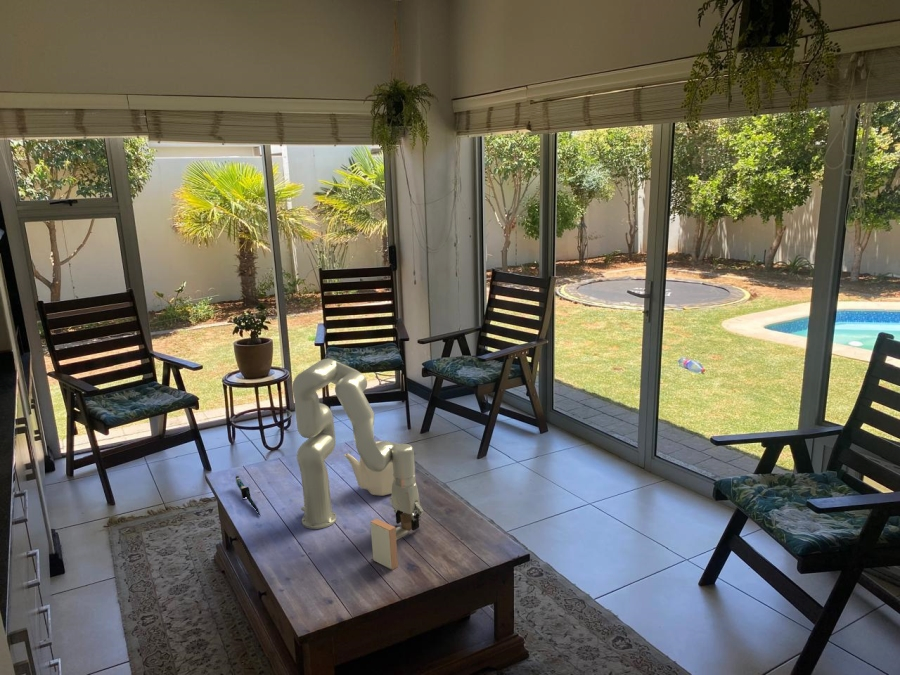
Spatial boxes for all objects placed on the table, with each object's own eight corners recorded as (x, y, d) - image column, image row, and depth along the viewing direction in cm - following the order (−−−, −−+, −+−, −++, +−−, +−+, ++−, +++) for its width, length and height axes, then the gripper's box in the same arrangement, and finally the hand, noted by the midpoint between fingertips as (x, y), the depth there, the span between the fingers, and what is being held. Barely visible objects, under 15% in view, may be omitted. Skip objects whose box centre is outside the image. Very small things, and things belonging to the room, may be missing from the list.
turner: (373, 543, 231) (372, 527, 229) (406, 524, 242) (405, 508, 241) (383, 547, 227) (382, 531, 226) (416, 528, 239) (415, 513, 238)
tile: (372, 560, 220) (369, 521, 217) (379, 556, 222) (376, 518, 219) (391, 570, 214) (388, 530, 211) (398, 566, 216) (395, 527, 213)
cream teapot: (341, 491, 270) (337, 447, 265) (402, 475, 281) (399, 433, 277) (354, 507, 256) (351, 461, 252) (418, 490, 268) (415, 445, 264)
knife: (235, 485, 276) (234, 475, 275) (243, 483, 278) (242, 473, 276) (254, 523, 251) (252, 513, 250) (262, 521, 253) (261, 511, 251)
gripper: (379, 476, 238) (383, 522, 242) (414, 490, 226) (417, 537, 230) (395, 469, 243) (398, 514, 247) (430, 482, 232) (432, 528, 236)
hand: (407, 525), depth 239 cm, fingers open, 7 cm apart
